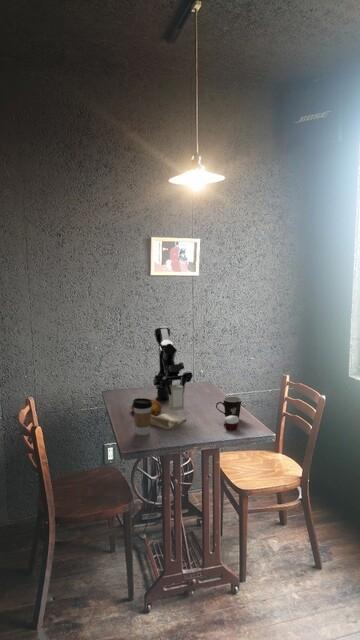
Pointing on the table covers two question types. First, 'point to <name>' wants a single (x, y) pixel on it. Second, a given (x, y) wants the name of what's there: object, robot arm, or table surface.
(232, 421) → the cocoa
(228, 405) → the coffee mug
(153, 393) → the table surface
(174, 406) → the sage green box
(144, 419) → the coffee cup
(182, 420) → the ledge board
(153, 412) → the croissant
